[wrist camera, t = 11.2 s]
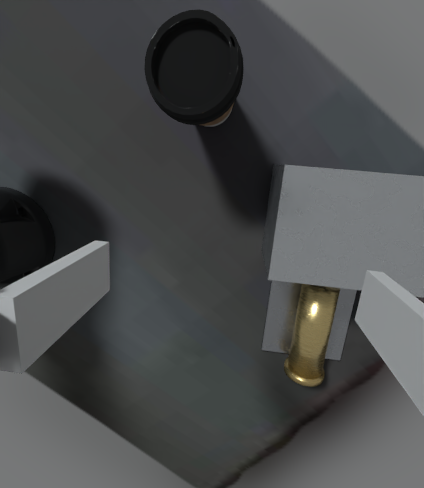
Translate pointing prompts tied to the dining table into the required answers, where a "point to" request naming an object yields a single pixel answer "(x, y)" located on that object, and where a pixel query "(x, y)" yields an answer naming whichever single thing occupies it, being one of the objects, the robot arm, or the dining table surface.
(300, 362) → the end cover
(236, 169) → the dining table surface
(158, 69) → the coffee cup
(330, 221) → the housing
